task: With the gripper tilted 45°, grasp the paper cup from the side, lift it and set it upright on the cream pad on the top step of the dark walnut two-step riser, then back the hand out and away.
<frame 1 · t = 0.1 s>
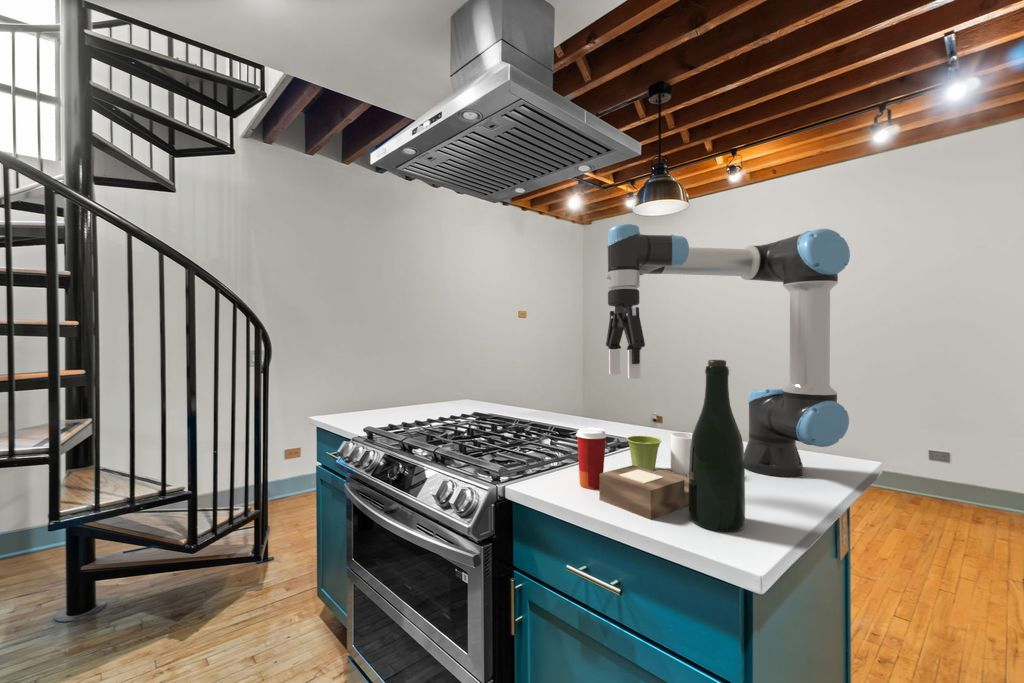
hand: (623, 376, 109), 28 cm above the worktop, tool pointing down, fingers open, 13 cm apart
paper cup: (590, 486, 112), on the worktop
plant pot: (643, 470, 126), on the worktop
mug: (689, 474, 123), on the worktop
step riser: (657, 497, 104), on the worktop
dark green wine bottle: (715, 523, 90), on the worktop
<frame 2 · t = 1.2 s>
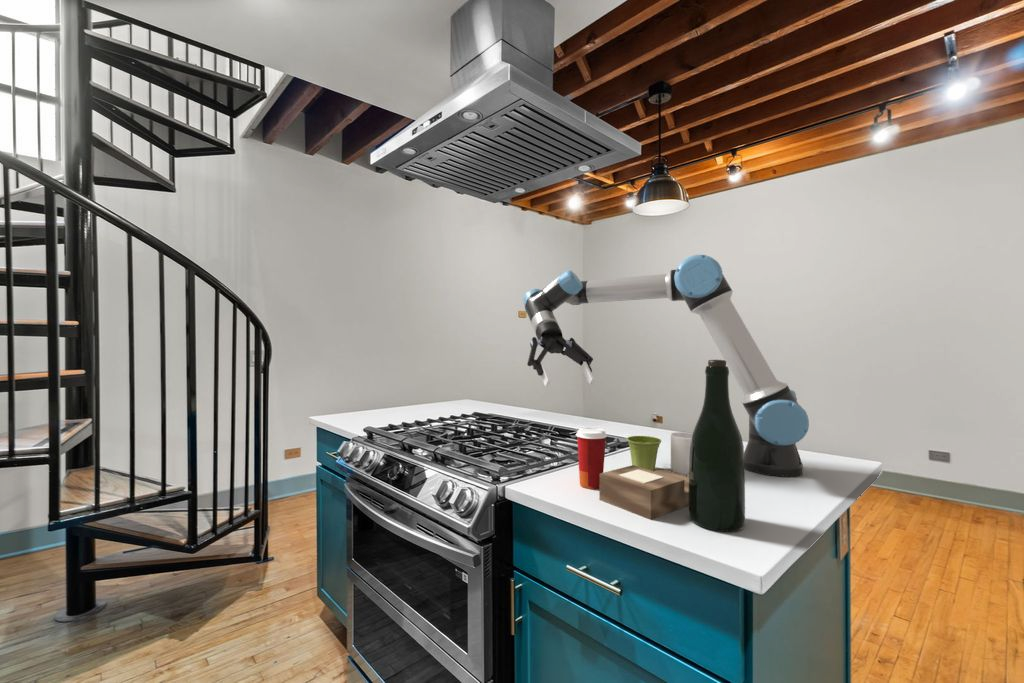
hand: (570, 382, 122), 25 cm above the worktop, tool tilted 45°, fingers open, 13 cm apart
nothing on the worktop moved.
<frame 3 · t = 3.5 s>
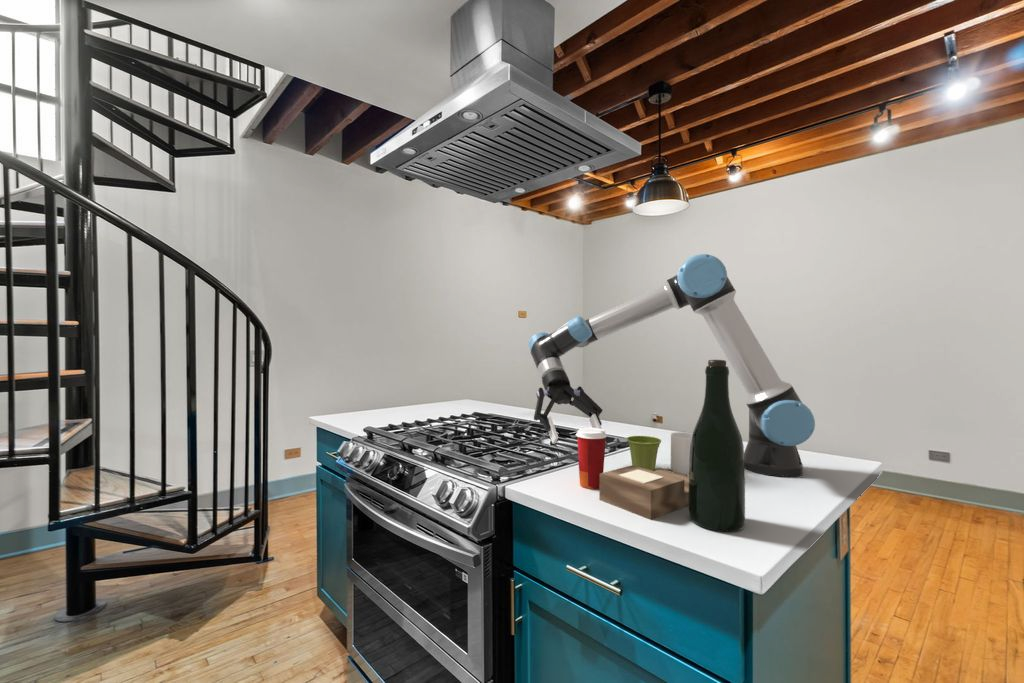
hand: (578, 438, 116), 11 cm above the worktop, tool tilted 45°, fingers open, 13 cm apart
nothing on the worktop moved.
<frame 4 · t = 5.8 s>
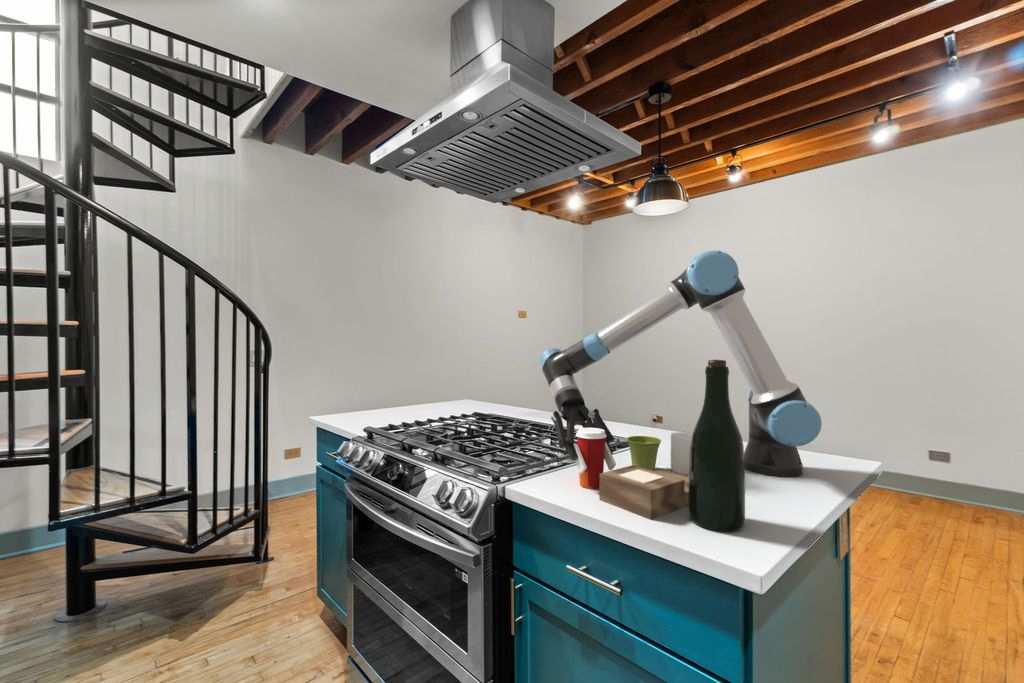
hand: (598, 468, 109), 5 cm above the worktop, tool tilted 45°, fingers closed on paper cup, 8 cm apart
paper cup: (590, 486, 112), on the worktop, touching gripper
everything else where it was.
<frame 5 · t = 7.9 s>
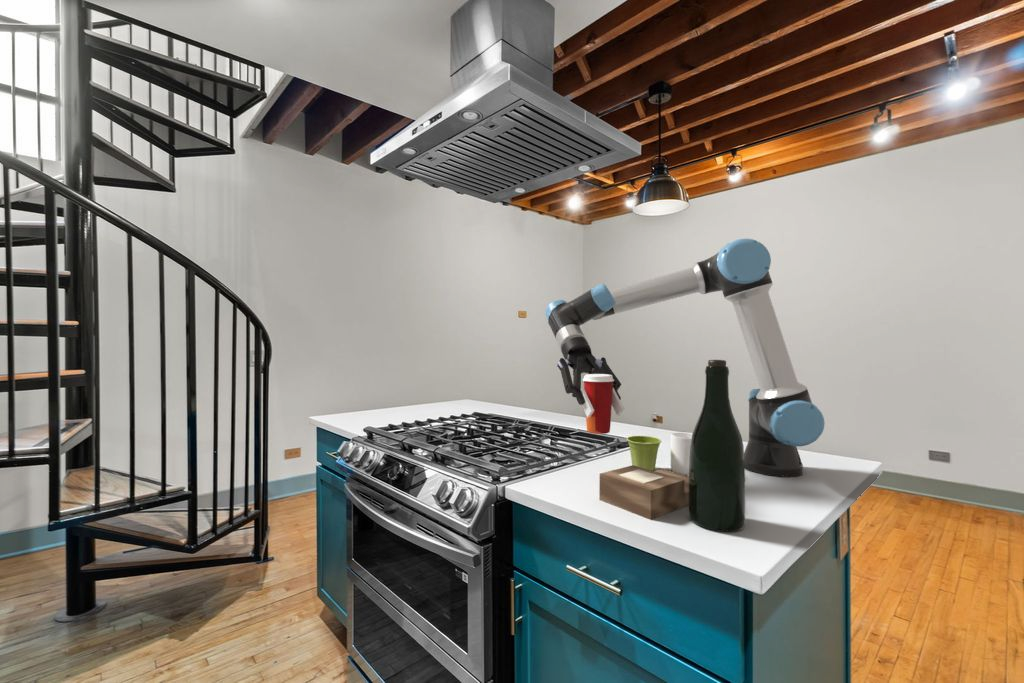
hand: (605, 413, 107), 19 cm above the worktop, tool tilted 45°, fingers closed on paper cup, 8 cm apart
paper cup: (598, 432, 110), point 14 cm above the worktop, touching gripper
everything else where it was.
when the fingers open (13 cm above the worktop, at t = 10.2 s): paper cup drops 2 cm, resting on step riser.
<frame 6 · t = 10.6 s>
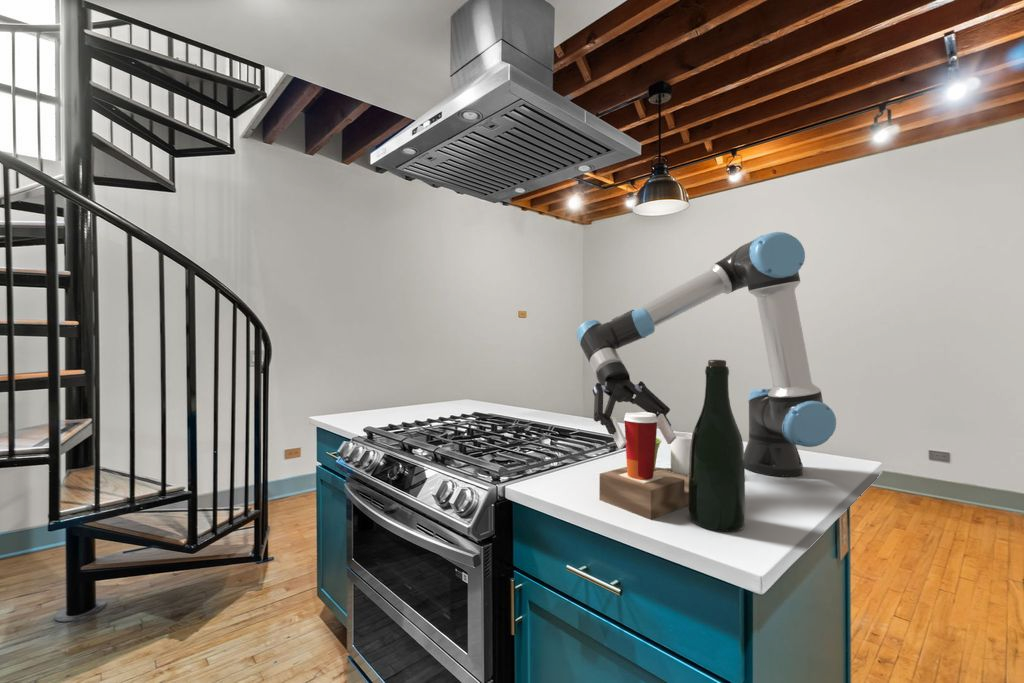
hand: (648, 443, 98), 14 cm above the worktop, tool tilted 45°, fingers open, 13 cm apart
paper cup: (639, 476, 100), point 6 cm above the worktop, touching step riser
everything else where it was.
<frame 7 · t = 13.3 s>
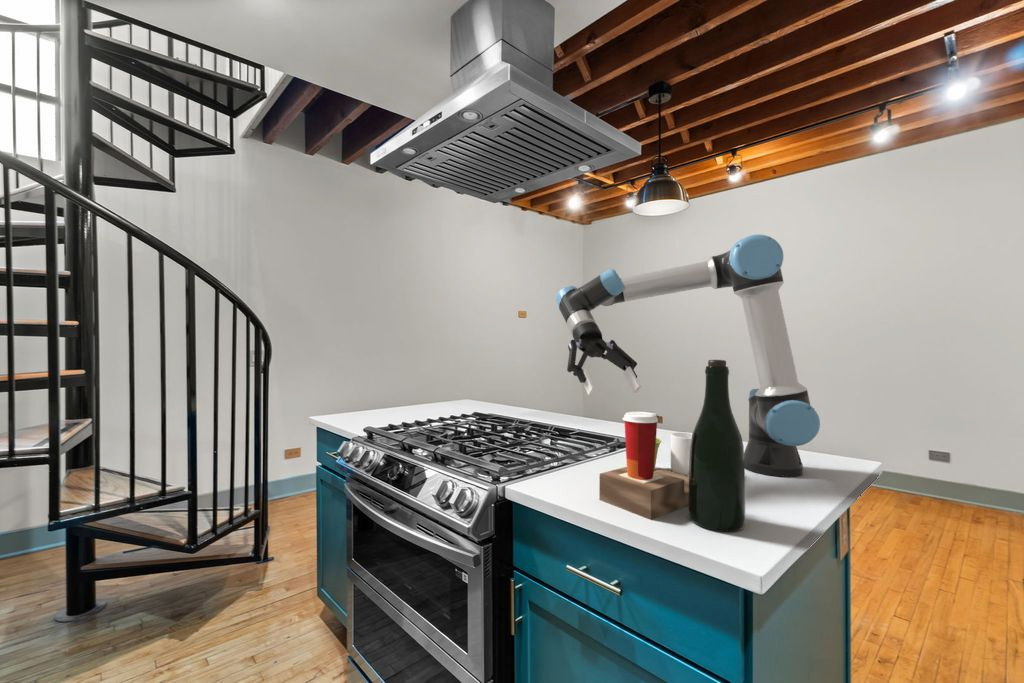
hand: (615, 390, 111), 24 cm above the worktop, tool tilted 45°, fingers open, 13 cm apart
nothing on the worktop moved.
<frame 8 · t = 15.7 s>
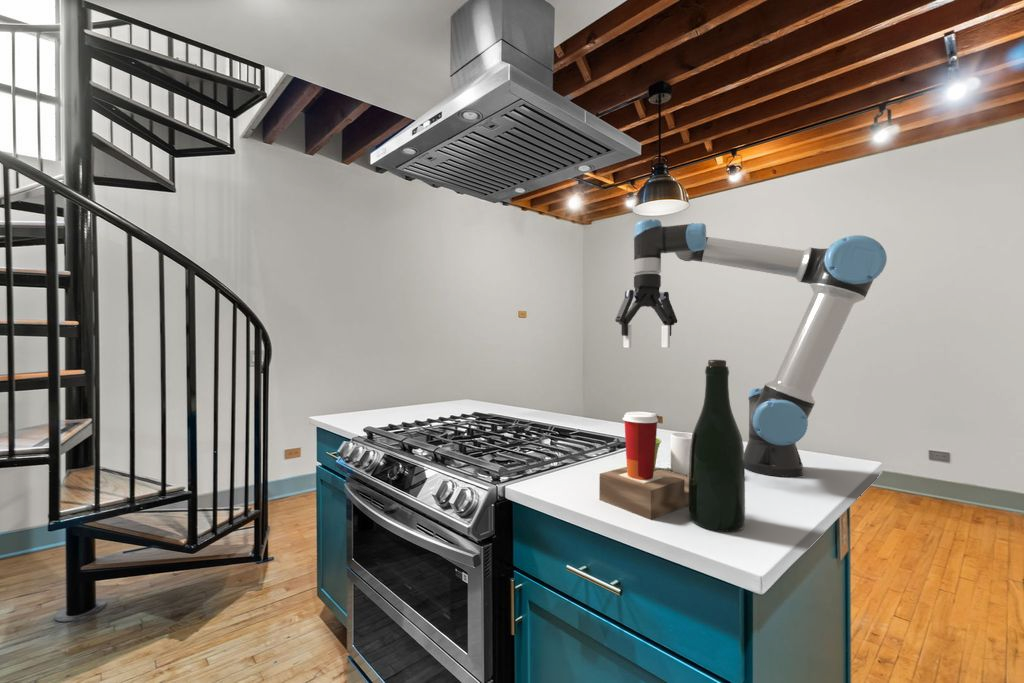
hand: (646, 347, 129), 35 cm above the worktop, tool pointing down, fingers open, 13 cm apart
nothing on the worktop moved.
at the end: paper cup 0.3 cm from the target spot on the step riser, point 6.0 cm above the step riser's base; paper cup tilted 0°; the gripper is holding nothing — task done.
